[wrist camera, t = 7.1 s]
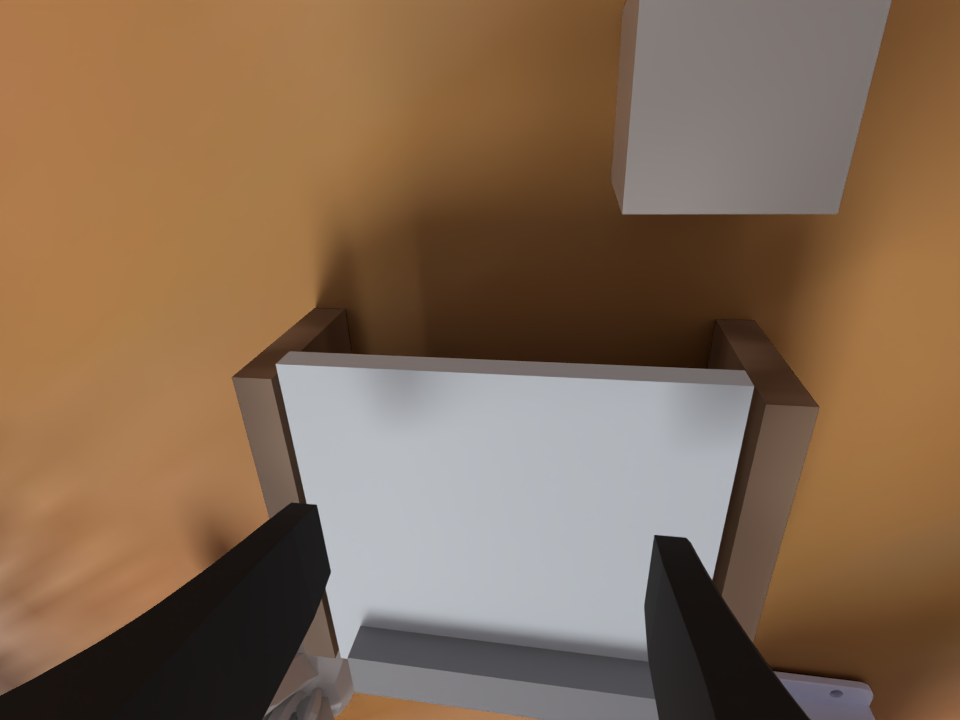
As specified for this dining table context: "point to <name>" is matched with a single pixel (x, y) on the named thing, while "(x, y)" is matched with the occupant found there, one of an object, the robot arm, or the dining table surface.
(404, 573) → the trapdoor
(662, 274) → the dining table surface
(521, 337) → the dining table surface
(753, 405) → the frame
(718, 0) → the white block
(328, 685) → the crystal
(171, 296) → the dining table surface
